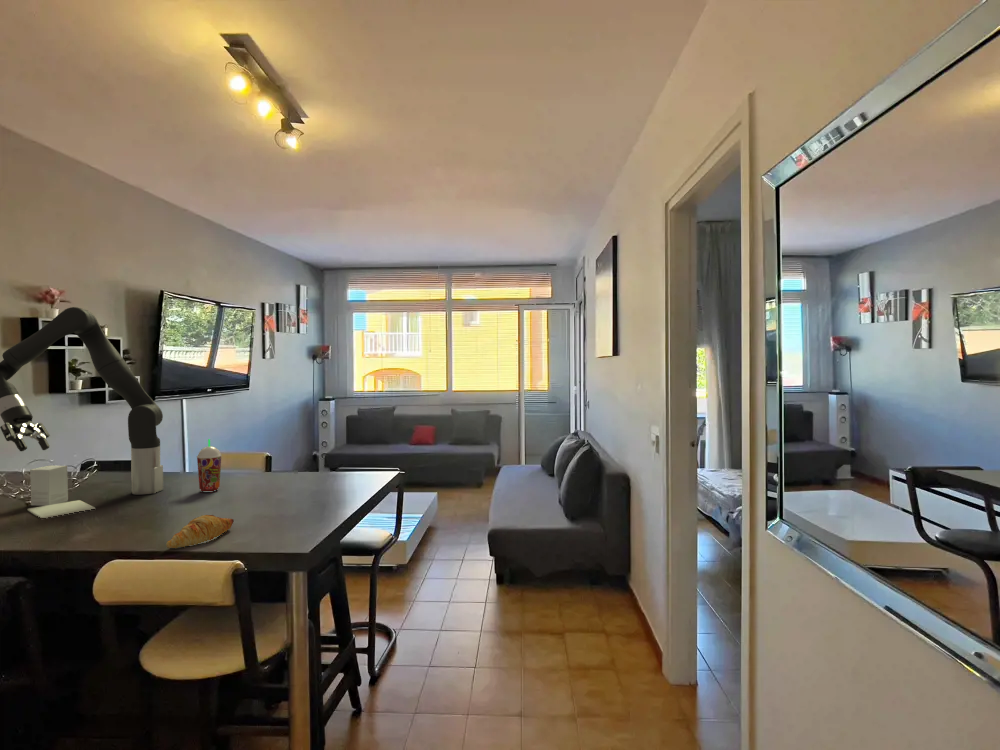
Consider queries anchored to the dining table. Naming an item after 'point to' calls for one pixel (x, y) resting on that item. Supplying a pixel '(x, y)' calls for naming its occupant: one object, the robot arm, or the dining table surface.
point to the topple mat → (60, 509)
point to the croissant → (200, 531)
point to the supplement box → (49, 485)
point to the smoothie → (209, 468)
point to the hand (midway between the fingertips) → (35, 449)
